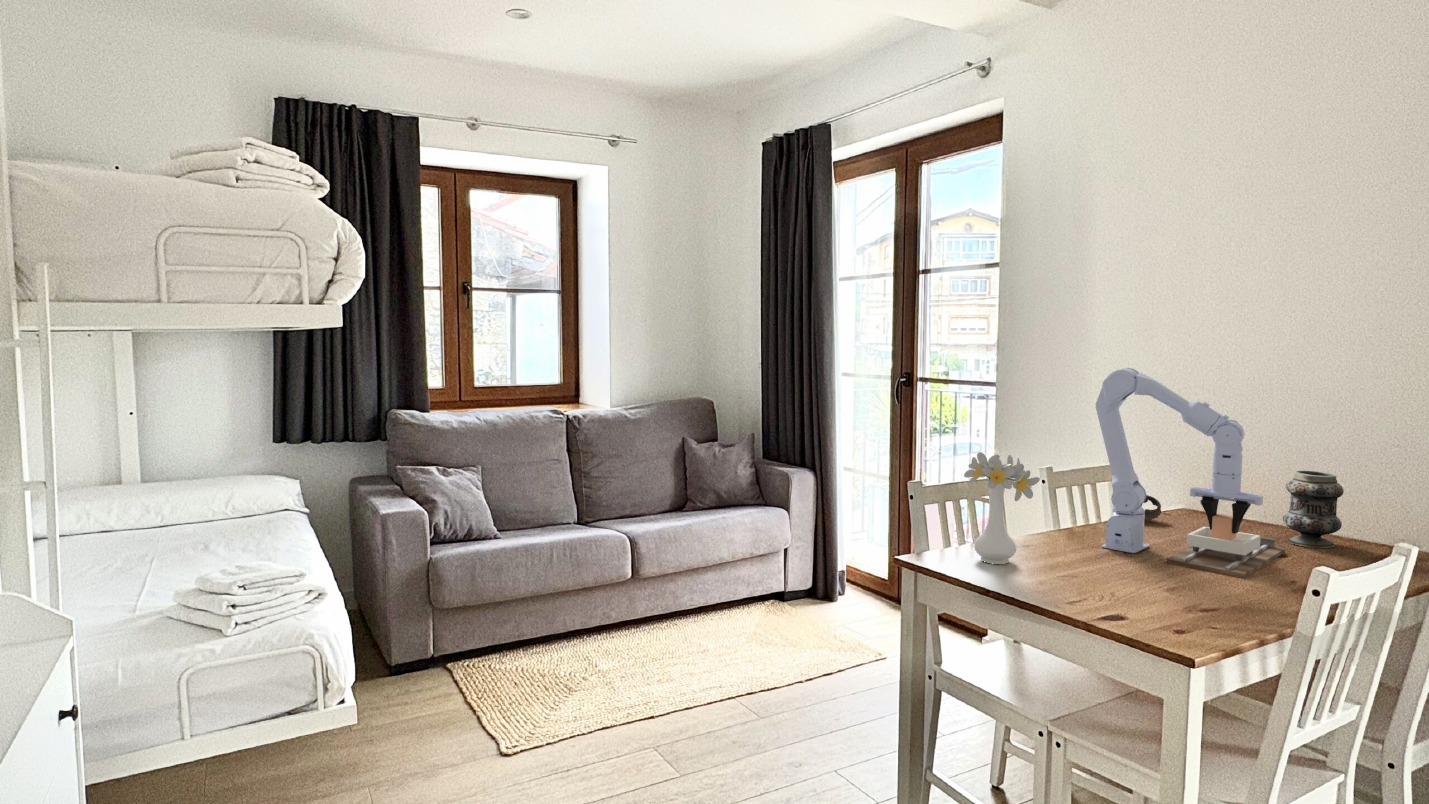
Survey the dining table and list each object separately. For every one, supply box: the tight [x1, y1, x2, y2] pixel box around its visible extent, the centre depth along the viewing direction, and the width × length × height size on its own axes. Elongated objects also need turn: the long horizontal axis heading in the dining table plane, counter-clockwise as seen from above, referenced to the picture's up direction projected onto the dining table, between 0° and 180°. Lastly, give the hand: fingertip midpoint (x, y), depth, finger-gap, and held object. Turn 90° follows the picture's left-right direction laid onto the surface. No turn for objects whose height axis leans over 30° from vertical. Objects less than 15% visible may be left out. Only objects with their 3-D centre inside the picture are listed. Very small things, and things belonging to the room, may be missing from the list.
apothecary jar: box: [1282, 469, 1345, 549], centre depth 211 cm, size 12×12×18 cm
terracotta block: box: [1211, 513, 1237, 541], centre depth 197 cm, size 4×4×5 cm
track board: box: [1165, 536, 1286, 579], centre depth 200 cm, size 30×16×3 cm, turn 132°
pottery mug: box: [1141, 494, 1162, 522], centre depth 238 cm, size 12×10×8 cm
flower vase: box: [963, 451, 1041, 565], centre depth 196 cm, size 13×18×25 cm
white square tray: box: [1186, 526, 1262, 560], centre depth 197 cm, size 11×12×4 cm
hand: (1223, 531), depth 197 cm, fingers closed on terracotta block, 4 cm apart
